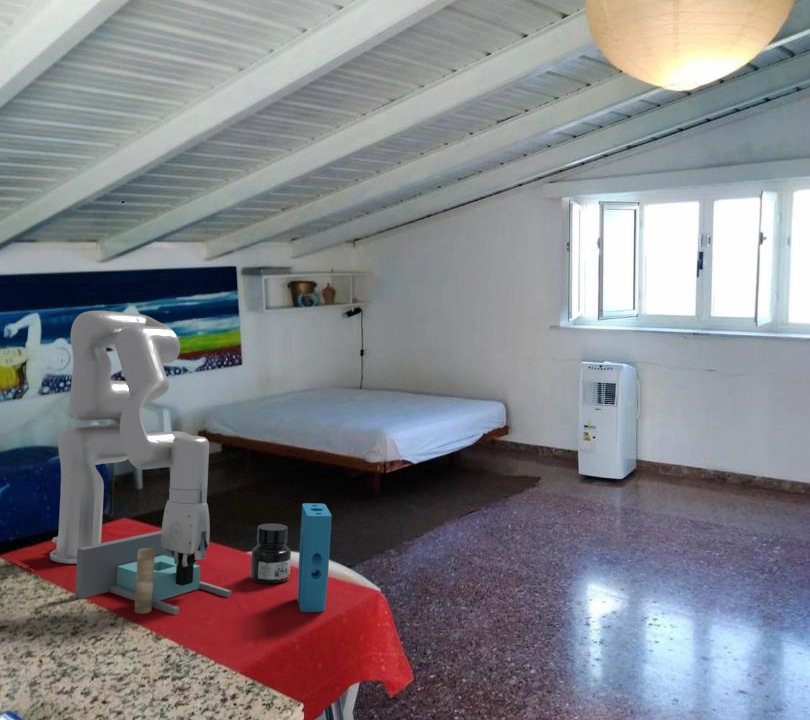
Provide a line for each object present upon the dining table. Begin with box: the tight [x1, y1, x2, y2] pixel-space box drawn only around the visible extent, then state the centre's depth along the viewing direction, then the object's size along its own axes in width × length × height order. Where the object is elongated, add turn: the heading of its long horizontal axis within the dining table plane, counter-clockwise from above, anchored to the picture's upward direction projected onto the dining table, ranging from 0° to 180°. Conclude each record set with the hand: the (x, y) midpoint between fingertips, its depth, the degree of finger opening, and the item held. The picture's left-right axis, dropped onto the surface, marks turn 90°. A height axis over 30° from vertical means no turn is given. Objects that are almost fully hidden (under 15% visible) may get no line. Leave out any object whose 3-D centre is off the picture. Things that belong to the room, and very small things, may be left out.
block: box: [297, 502, 332, 613], centre depth 159 cm, size 12×5×20 cm, turn 13°
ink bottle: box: [249, 523, 292, 585], centre depth 174 cm, size 10×9×12 cm
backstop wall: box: [74, 530, 232, 615], centre depth 161 cm, size 22×28×10 cm
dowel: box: [134, 548, 155, 614], centre depth 150 cm, size 3×3×12 cm
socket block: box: [116, 555, 201, 601], centre depth 162 cm, size 12×12×5 cm
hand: (184, 583), depth 158 cm, fingers closed
